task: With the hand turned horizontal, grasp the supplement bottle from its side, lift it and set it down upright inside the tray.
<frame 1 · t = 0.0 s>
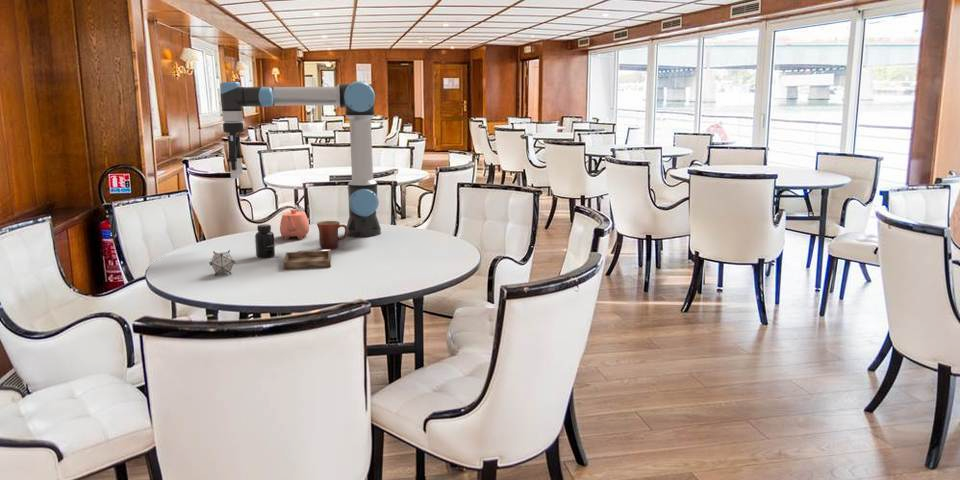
hand: (237, 176, 281), 28 cm above the table, tool pointing down, fingers open, 13 cm apart
teapot: (294, 238, 301), on the table
mug: (333, 248, 281), on the table
supplement bottle: (265, 257, 267), on the table
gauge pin: (314, 255, 269), on the table
game die: (223, 274, 242), on the table
tray: (308, 262, 257), on the table
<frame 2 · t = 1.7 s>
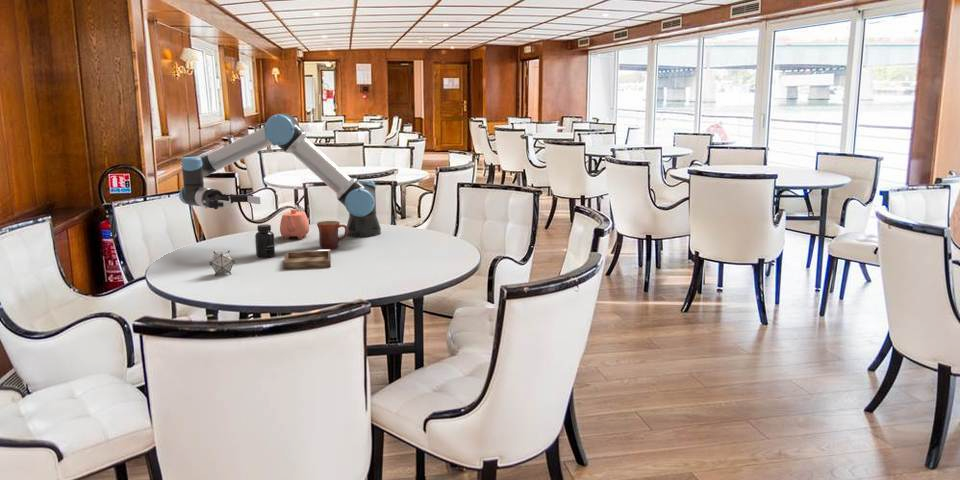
hand: (245, 202, 268), 20 cm above the table, tool horizontal, fingers open, 13 cm apart
nothing on the table moved.
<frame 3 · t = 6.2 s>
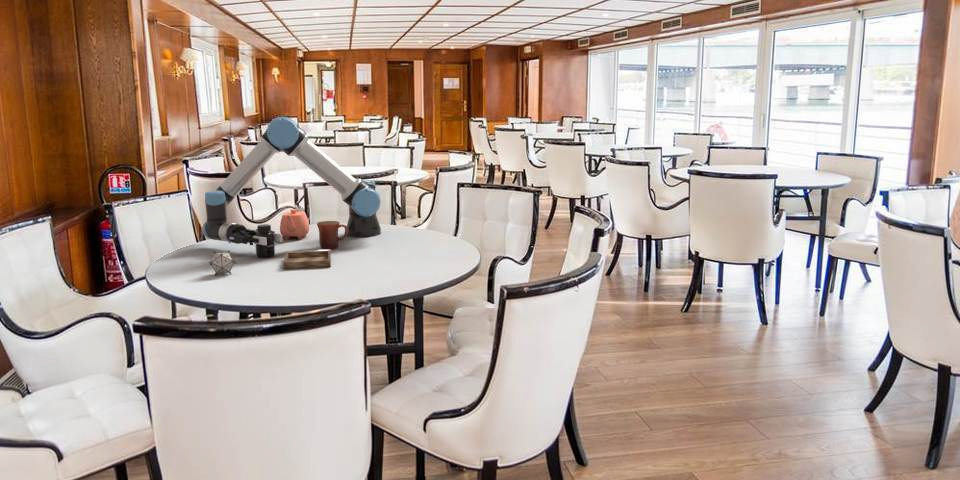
hand: (273, 239, 263), 7 cm above the table, tool horizontal, fingers closed on supplement bottle, 7 cm apart
supplement bottle: (265, 257, 267), on the table, touching gripper
everything else where it was.
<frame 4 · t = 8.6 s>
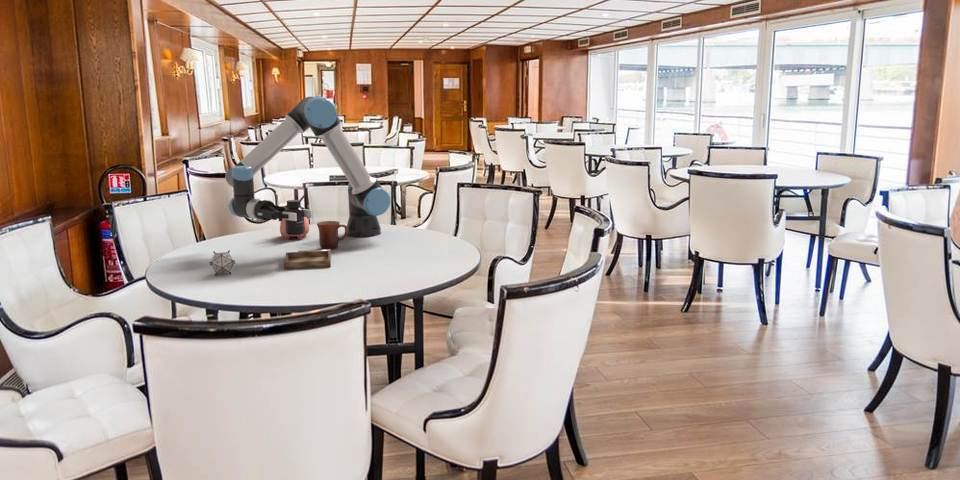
hand: (303, 215, 252), 18 cm above the table, tool horizontal, fingers closed on supplement bottle, 7 cm apart
supplement bottle: (295, 233, 256), point 11 cm above the table, touching gripper
everything else where it was.
when the fingers open (9 cm above the table, at t = 11.4 s): supplement bottle drops 2 cm, resting on tray.
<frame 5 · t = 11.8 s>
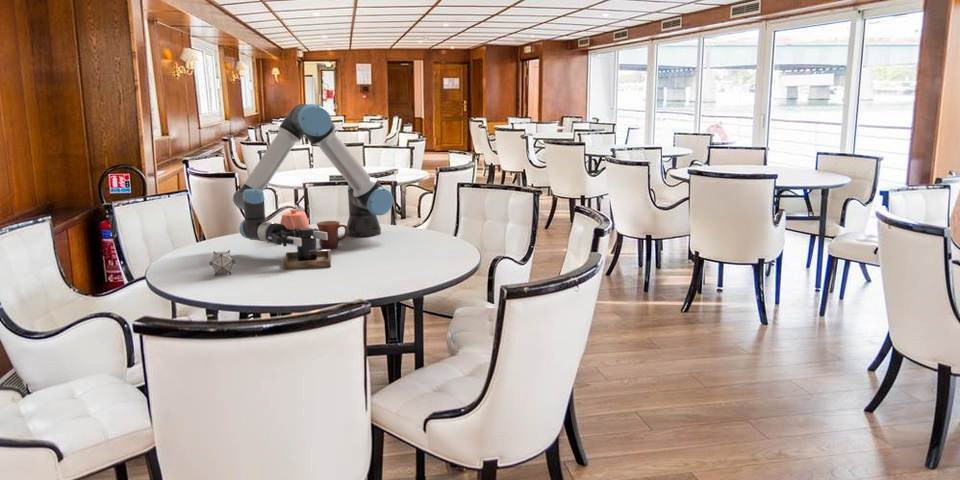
hand: (314, 239, 253), 9 cm above the table, tool horizontal, fingers open, 12 cm apart
supplement bottle: (307, 261, 257), resting on tray
everything else where it was.
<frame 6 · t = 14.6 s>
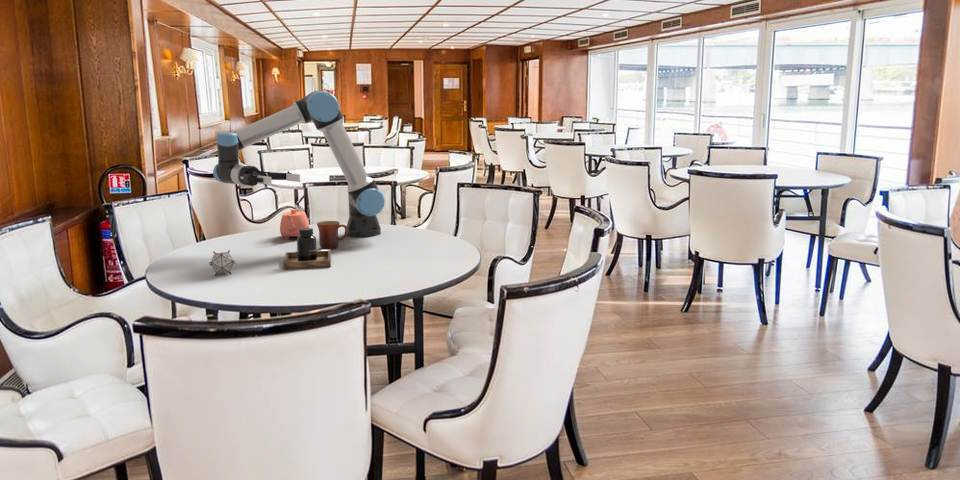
hand: (285, 179, 256), 30 cm above the table, tool horizontal, fingers open, 13 cm apart
nothing on the table moved.
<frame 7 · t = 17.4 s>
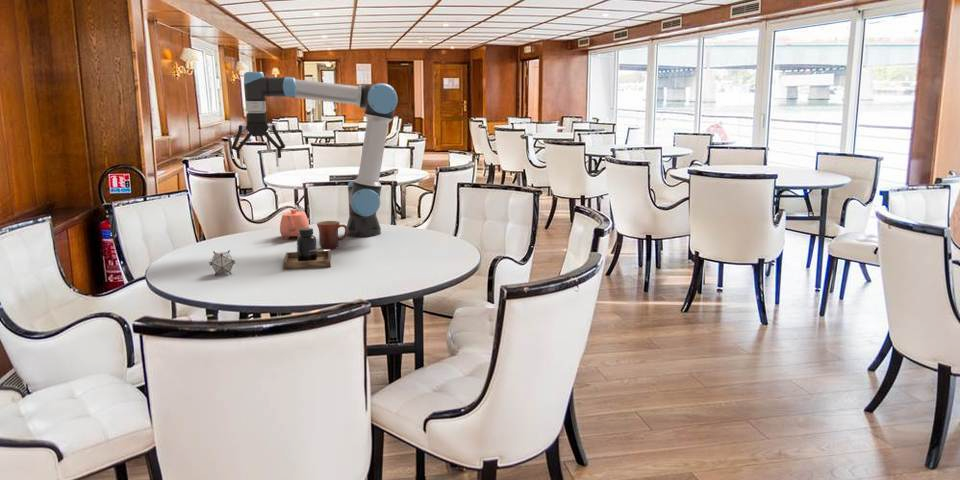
hand: (260, 166, 280), 32 cm above the table, tool pointing down, fingers open, 13 cm apart
nothing on the table moved.
at the end: supplement bottle inside the target area on the tray (0.3 cm from its centre), point 0.4 cm above the tray's base; supplement bottle tilted 0°; the gripper is holding nothing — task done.
